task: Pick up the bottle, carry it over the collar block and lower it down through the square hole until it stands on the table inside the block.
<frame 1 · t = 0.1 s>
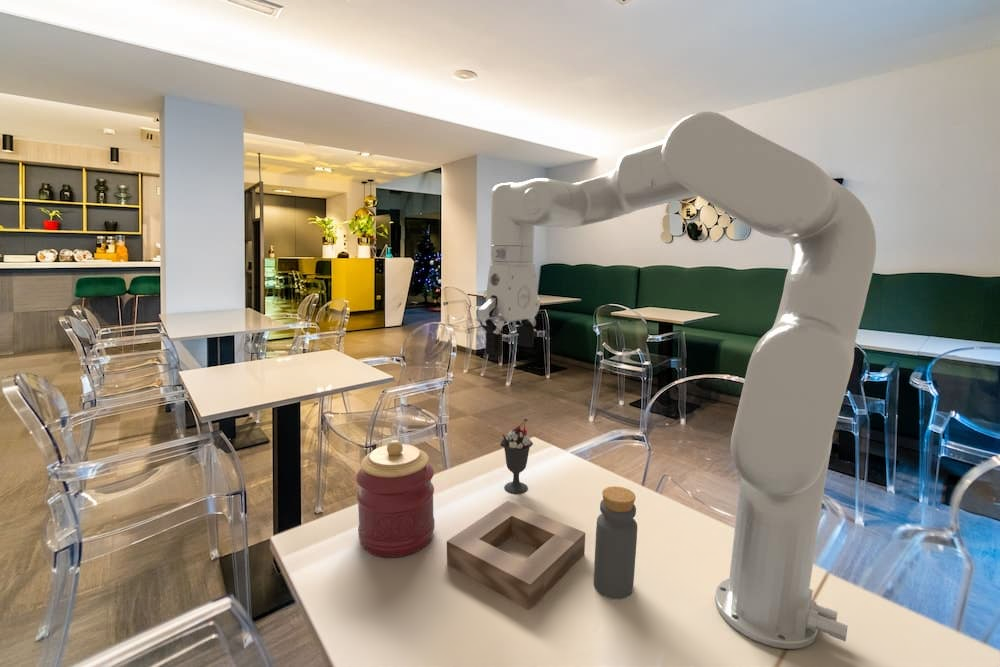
hand: (510, 350, 90), 31 cm above the table, tool pointing down, fingers open, 9 cm apart
collar block: (516, 559, 80), on the table
canister: (397, 537, 86), on the table
bottle: (612, 587, 74), on the table
sundae: (516, 488, 103), on the table
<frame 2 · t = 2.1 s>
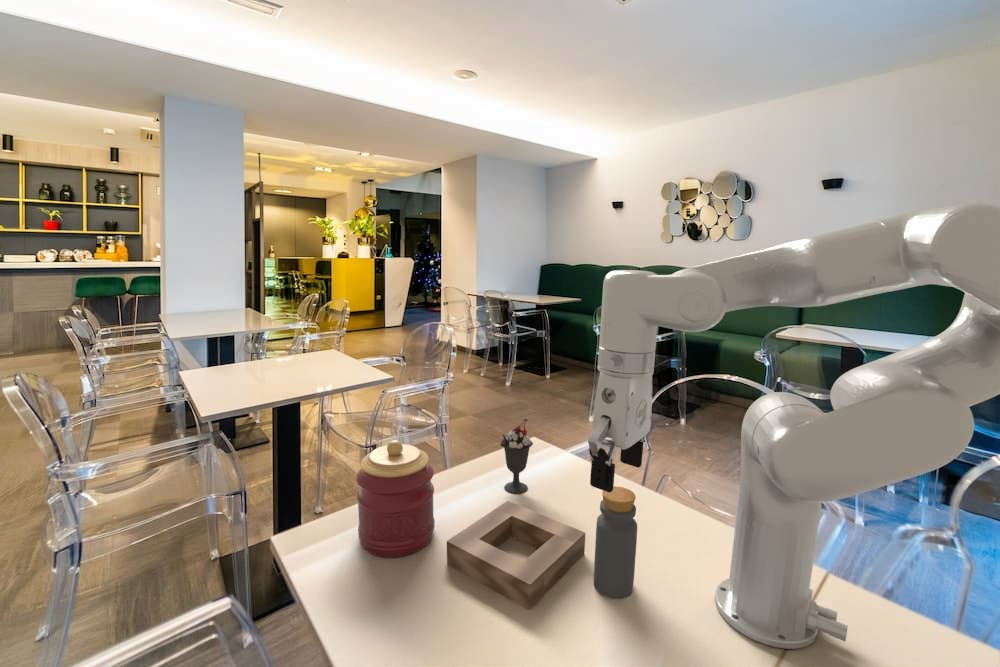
hand: (616, 475, 71), 18 cm above the table, tool pointing down, fingers open, 9 cm apart
nothing on the table moved.
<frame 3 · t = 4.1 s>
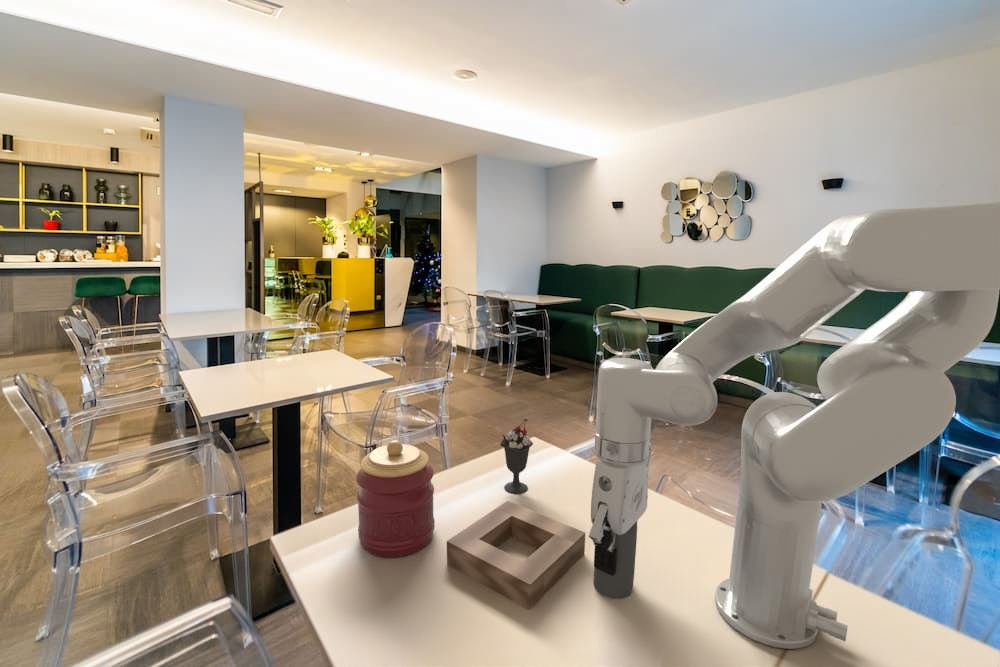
hand: (614, 558, 73), 5 cm above the table, tool pointing down, fingers closed on bottle, 5 cm apart
bottle: (612, 587, 74), on the table, touching gripper
everything else where it was.
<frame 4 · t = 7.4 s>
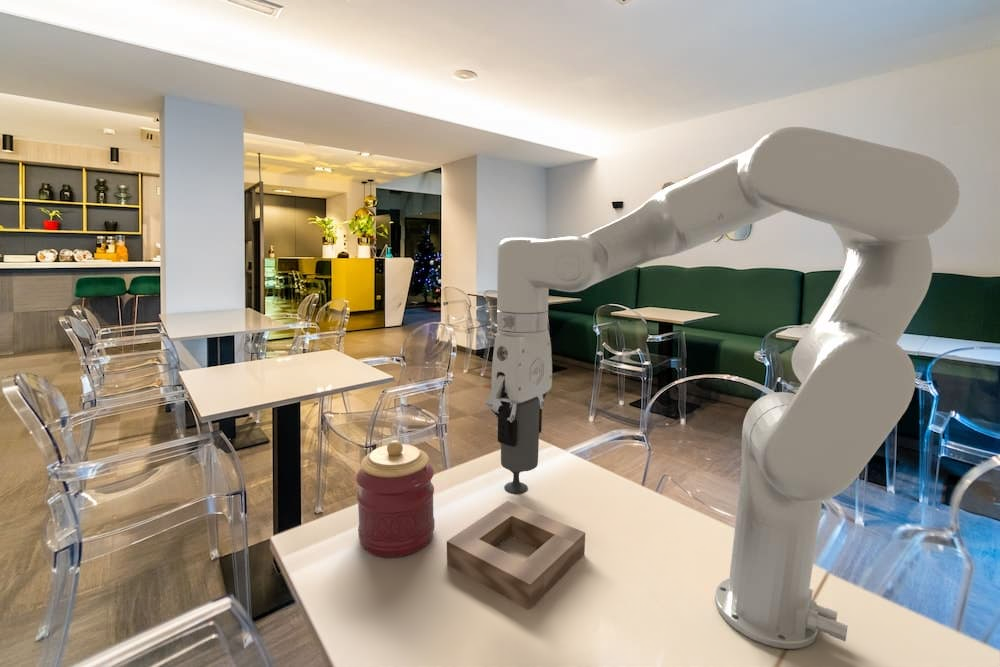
hand: (520, 436, 76), 21 cm above the table, tool pointing down, fingers closed on bottle, 5 cm apart
bottle: (519, 464, 77), point 16 cm above the table, touching gripper
everything else where it was.
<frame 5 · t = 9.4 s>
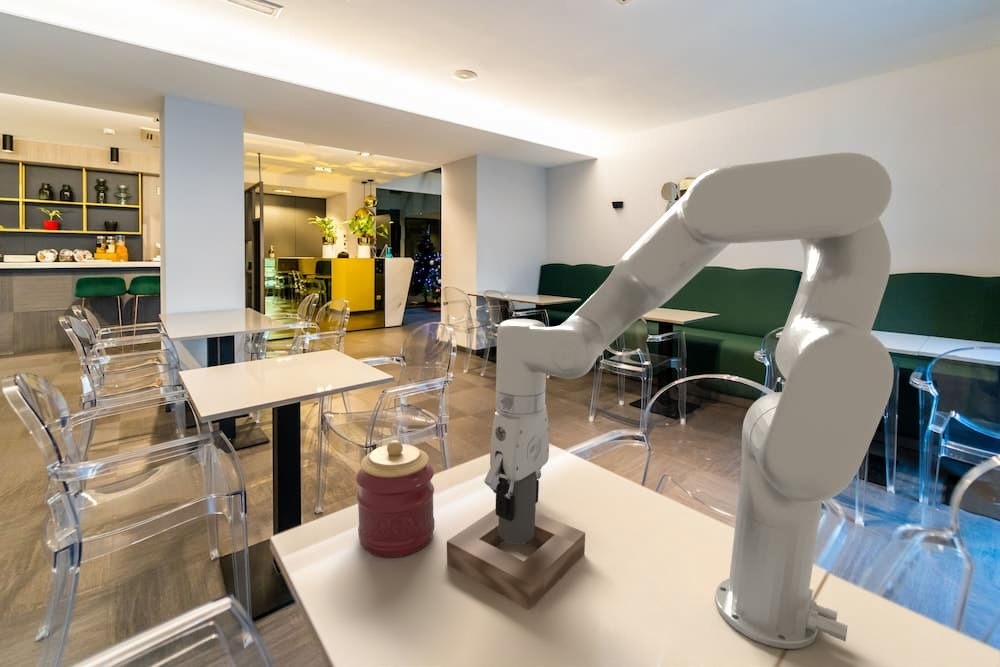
hand: (517, 507, 78), 9 cm above the table, tool pointing down, fingers closed on bottle, 5 cm apart
bottle: (516, 534, 79), point 4 cm above the table, touching gripper
everything else where it was.
when the fingers open (6 cm above the table, at t = 11.0 s): bottle drops 1 cm, resting in collar block.
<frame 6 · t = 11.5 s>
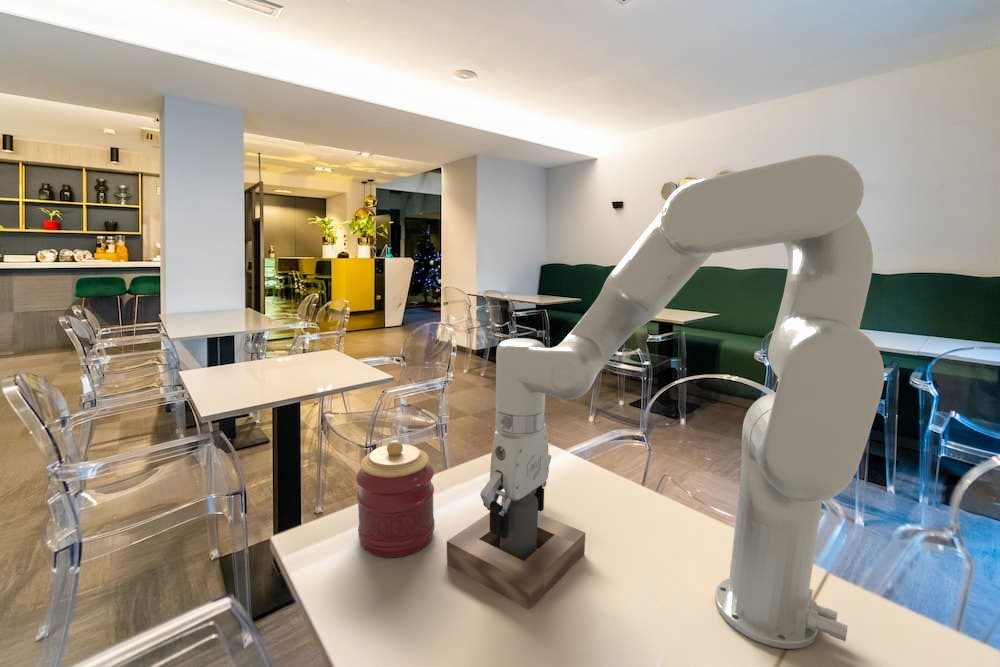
hand: (517, 520, 78), 7 cm above the table, tool pointing down, fingers open, 9 cm apart
bottle: (517, 560, 80), resting in collar block
everything else where it was.
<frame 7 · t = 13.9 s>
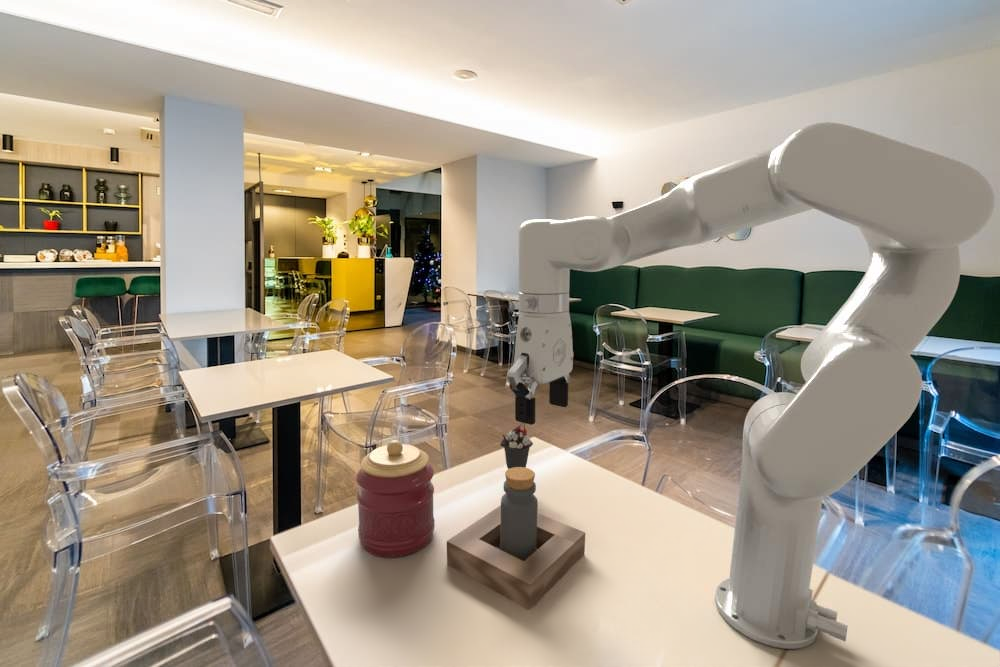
hand: (542, 413, 76), 24 cm above the table, tool pointing down, fingers open, 9 cm apart
nothing on the table moved.
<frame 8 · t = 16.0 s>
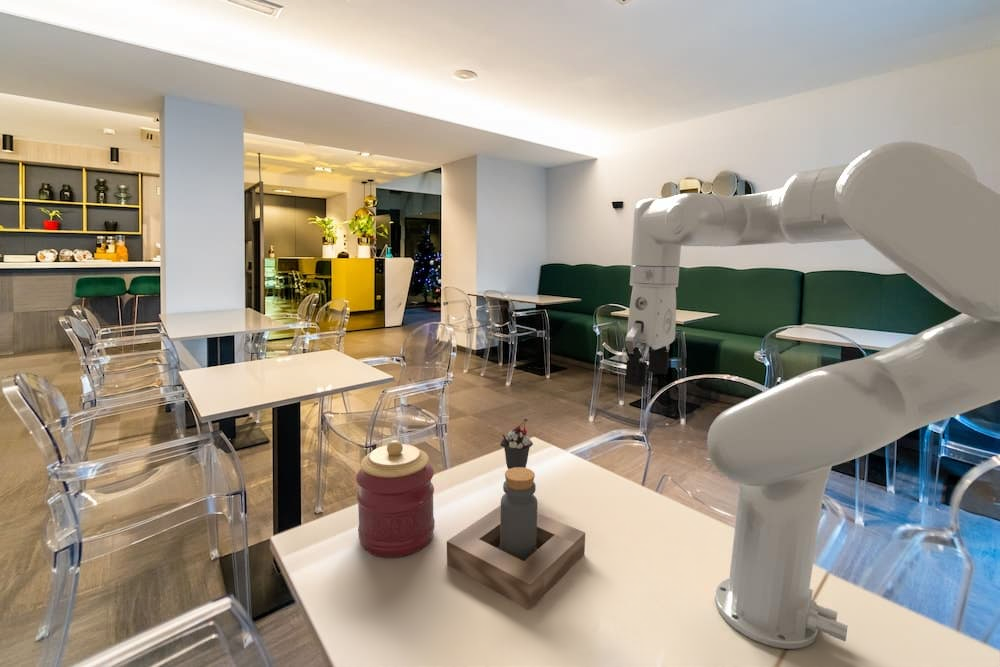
hand: (647, 378, 83), 28 cm above the table, tool pointing down, fingers open, 9 cm apart
nothing on the table moved.
at the end: bottle 0.2 cm off-centre on the collar block, point 0.0 cm above the collar block's base; bottle tilted 0°; the gripper is holding nothing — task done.
